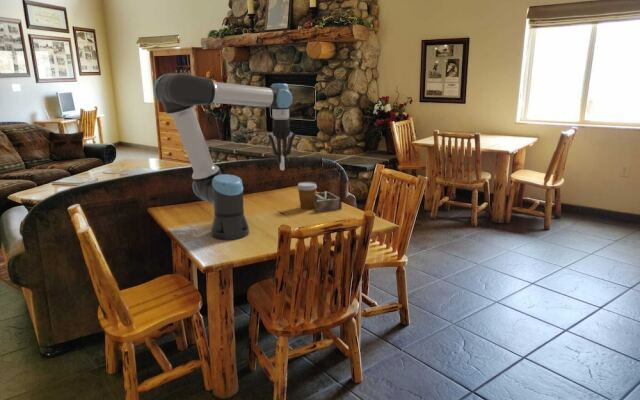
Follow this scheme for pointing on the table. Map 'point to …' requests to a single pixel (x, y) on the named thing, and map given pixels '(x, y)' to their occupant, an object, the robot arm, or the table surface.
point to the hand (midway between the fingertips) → (282, 169)
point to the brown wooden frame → (328, 202)
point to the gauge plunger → (319, 197)
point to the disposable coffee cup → (307, 195)
